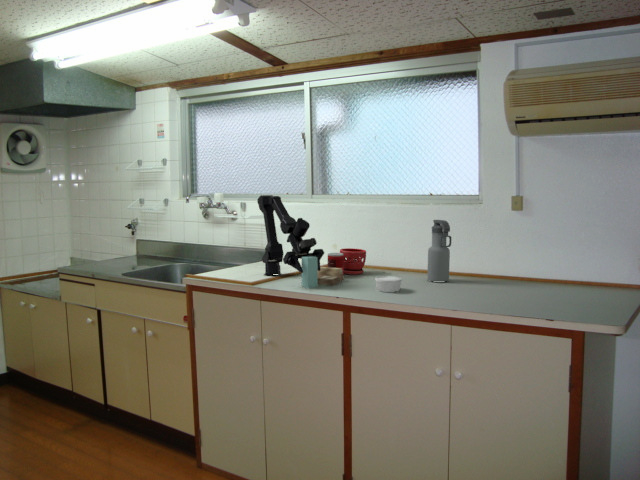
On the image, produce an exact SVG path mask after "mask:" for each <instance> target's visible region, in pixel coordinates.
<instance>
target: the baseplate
mask: <svg viewBox="0 0 640 480" xmlns="http://www.w3.org/2000/svg"><path fill="white" fill-rule="evenodd" d="M343 281H345V274H343V275H340V276H333V275H319V274H317V285H322V286H335V285H337V284H339V283H341V282H343Z"/></svg>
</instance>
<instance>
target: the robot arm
mask: <svg viewBox="0 0 640 480" xmlns="http://www.w3.org/2000/svg"><path fill="white" fill-rule="evenodd" d="M256 200H257V204H258V208H259V210H260V211H261V213H262V214H263V219H264V220H263V222H264V227H265V234H266V240H267V243H266V245H265V248H264V251H265V252H264V253H263V256H262V257H261V259H262V260H261V261H262V263H263V264H265V267H264V269H265V270H264V271H265V273H264V274H263V276H269V275H273V274H280V273H281V265H280V263H284V265H287V266H291V267H292V268H294V269H295V270H297V271H299V273H301V274H302V273H303V270H302V264H301V263H300V261H299V259H300V260H302V257H305V256H314V257H317V269H318V271H320V270H321V269H320V267H321V259H322V257H323V256H324V254H325V251H324V249H323V248H318V249H316V248H314V249H313V251H312V252H311V250H312V247H315V246H316V245H317V240H316V237H311V238H306V239H303V237H305V235H306V234H307V232H308V230H309V228H310V227H311V226H310V223H309V222H308V221H307V220H306V219H303V217H297V220H296V219H295V218H294V217H292V216H290V214H289V212H288V210H287V209H286V206H285V205H284V203H283V202H282V198H281V196H279V195H272V194H268V195H267V194H265V195H264V194H263V195H262V194H261V195H260V196H259V197H258V198H257V199H256ZM274 212H275V214H276V216H277V217H278V220H279V222H280V225H279V227H280V230H281V232H282V234H284V235H288V236H287V239H286V242H287V243H290V245H291V251H286V252H285V255H284V250H283V248H284V247H283V244H282V243H280V242H279V241H278V235H277V228H276V221H275V215H274ZM280 275H281V274H280Z"/></svg>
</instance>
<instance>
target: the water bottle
mask: <svg viewBox="0 0 640 480" xmlns="http://www.w3.org/2000/svg"><path fill="white" fill-rule="evenodd" d="M432 221H433V226H431V246H430V247H428V249H427V278H426V279H427V281H428V280H430V281H448V280H449V281H450V254H451V253H450V249H449V248H450V247H451V246H452V236H451V235H449V232H451V227H450V224H449V222H448V221H447V220H445V219H433V220H432ZM447 238H448V239H449V244H448V245H447ZM430 281H429V282H430ZM449 281H448V282H449Z"/></svg>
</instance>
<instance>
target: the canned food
mask: <svg viewBox="0 0 640 480" xmlns="http://www.w3.org/2000/svg"><path fill="white" fill-rule="evenodd" d="M327 267H330V268H342V275H344V274H343V273H344V255H343V253H340V252H330V253H327Z"/></svg>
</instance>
